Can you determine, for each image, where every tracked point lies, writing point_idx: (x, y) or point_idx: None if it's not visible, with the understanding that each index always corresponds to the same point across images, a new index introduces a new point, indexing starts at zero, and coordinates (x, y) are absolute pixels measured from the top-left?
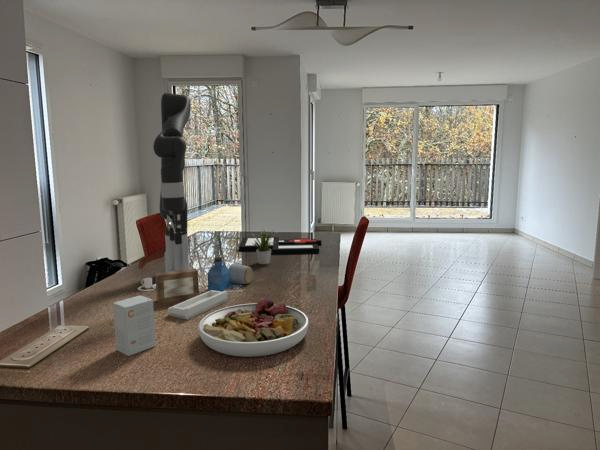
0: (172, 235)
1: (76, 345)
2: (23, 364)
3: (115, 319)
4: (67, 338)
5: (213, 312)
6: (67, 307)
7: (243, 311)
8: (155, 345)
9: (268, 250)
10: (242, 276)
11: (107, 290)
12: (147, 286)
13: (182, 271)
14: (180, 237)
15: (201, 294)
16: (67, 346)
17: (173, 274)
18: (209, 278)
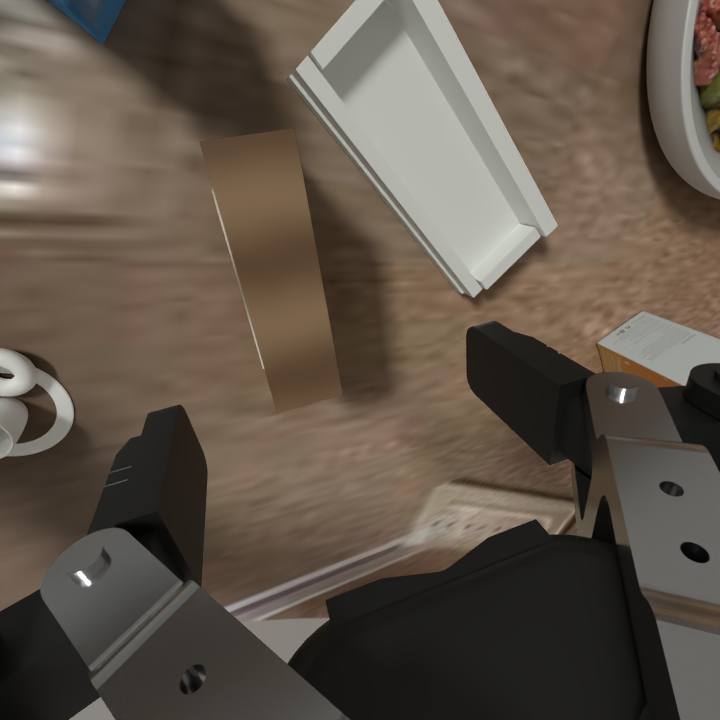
0: (192, 489)
1: (539, 470)
2: (568, 517)
3: None
4: (493, 499)
5: (695, 130)
6: (256, 588)
7: None
8: (644, 312)
9: None
10: None
11: (47, 558)
12: (26, 417)
13: (280, 252)
14: (566, 363)
15: (350, 131)
16: (534, 483)
17: (326, 309)
18: (87, 2)
